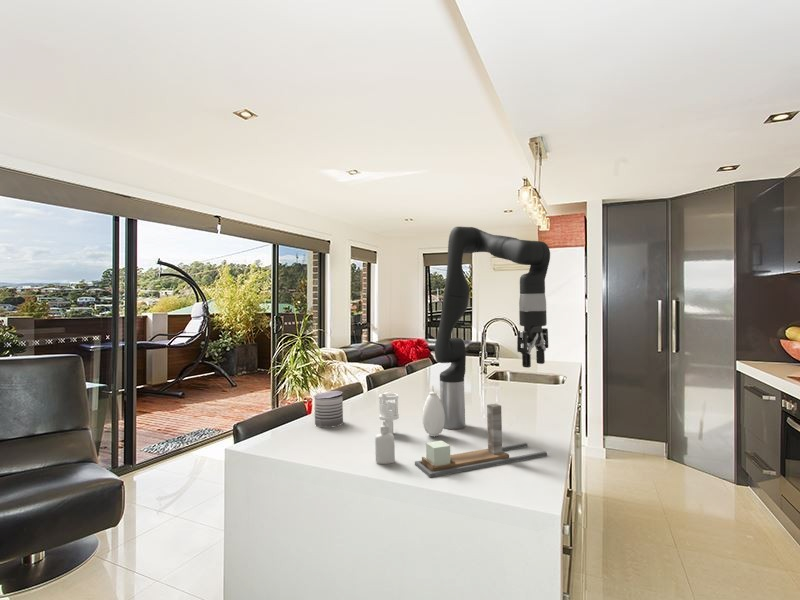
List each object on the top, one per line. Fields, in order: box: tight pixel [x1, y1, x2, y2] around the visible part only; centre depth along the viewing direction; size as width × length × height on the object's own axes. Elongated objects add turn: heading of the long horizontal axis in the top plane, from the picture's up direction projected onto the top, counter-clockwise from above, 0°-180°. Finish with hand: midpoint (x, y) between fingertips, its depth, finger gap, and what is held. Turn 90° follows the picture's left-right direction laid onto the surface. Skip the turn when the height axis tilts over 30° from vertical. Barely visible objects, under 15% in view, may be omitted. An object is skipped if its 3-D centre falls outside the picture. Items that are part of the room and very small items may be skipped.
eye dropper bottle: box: [374, 420, 396, 465], centre depth 127 cm, size 4×6×12 cm
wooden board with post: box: [421, 403, 510, 472], centre depth 124 cm, size 7×25×16 cm, turn 112°
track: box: [414, 442, 548, 478], centre depth 126 cm, size 10×39×1 cm, turn 112°
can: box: [313, 390, 344, 428], centre depth 170 cm, size 11×11×12 cm
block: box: [425, 440, 451, 466], centre depth 121 cm, size 5×5×5 cm
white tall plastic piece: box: [378, 391, 400, 435], centre depth 155 cm, size 7×7×15 cm
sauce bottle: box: [422, 385, 445, 438], centre depth 151 cm, size 8×8×18 cm
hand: (533, 365), depth 124 cm, fingers open, 8 cm apart
